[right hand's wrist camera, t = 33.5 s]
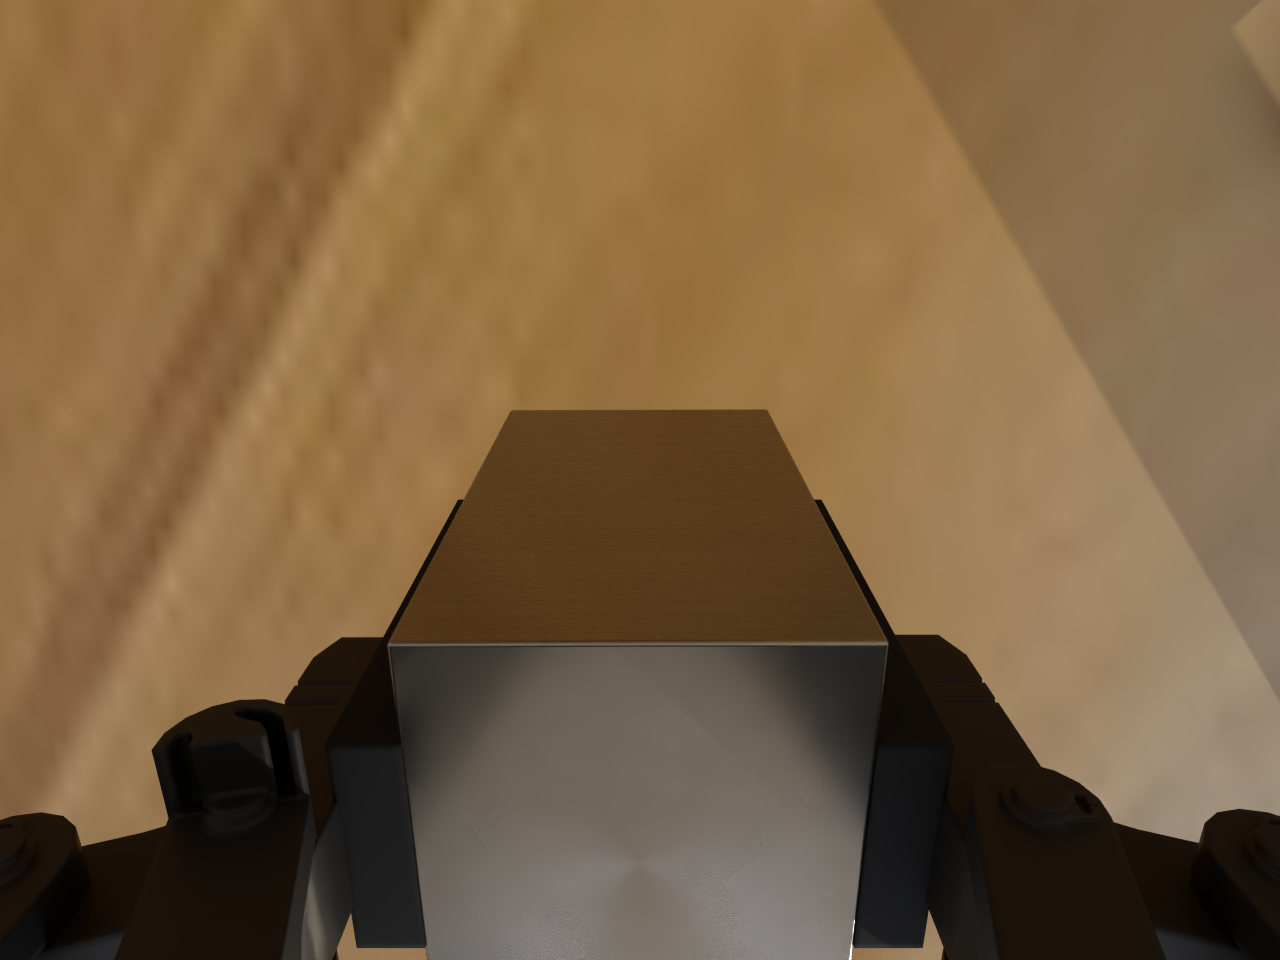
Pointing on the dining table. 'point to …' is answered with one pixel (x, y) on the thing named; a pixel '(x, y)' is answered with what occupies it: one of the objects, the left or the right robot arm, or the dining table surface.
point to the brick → (638, 700)
